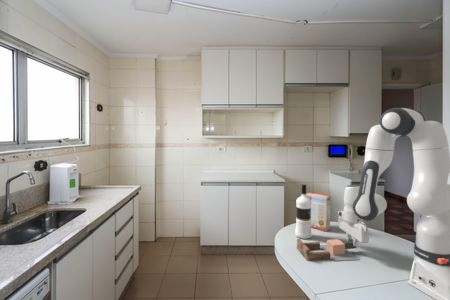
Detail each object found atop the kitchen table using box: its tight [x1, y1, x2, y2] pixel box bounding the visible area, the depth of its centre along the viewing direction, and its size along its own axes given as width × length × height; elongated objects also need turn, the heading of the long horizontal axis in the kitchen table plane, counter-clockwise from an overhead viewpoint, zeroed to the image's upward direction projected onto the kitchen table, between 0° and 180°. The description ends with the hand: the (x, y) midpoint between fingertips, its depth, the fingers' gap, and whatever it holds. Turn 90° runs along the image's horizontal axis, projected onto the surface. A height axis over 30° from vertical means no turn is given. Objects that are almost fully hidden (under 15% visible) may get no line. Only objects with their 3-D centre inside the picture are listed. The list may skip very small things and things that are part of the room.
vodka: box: [294, 184, 313, 240], centre depth 144 cm, size 9×9×30 cm
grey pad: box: [320, 244, 360, 262], centre depth 125 cm, size 16×12×1 cm
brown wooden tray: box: [296, 238, 331, 261], centre depth 124 cm, size 12×12×5 cm
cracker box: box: [306, 192, 331, 232], centre depth 158 cm, size 14×6×21 cm, turn 44°
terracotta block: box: [326, 238, 357, 255], centre depth 125 cm, size 6×13×5 cm, turn 96°
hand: (352, 244), depth 126 cm, fingers closed on terracotta block, 2 cm apart
